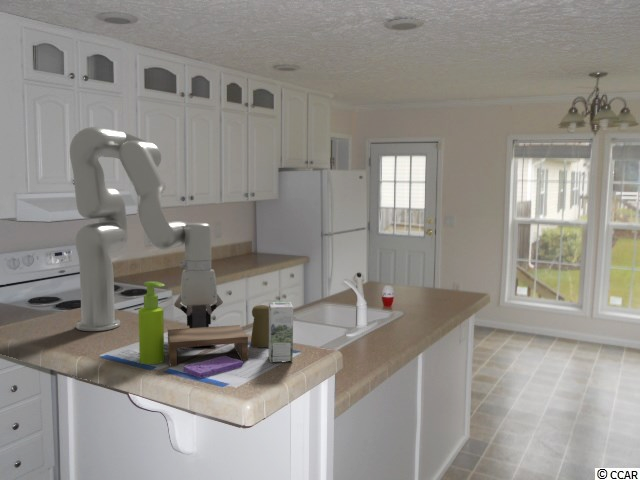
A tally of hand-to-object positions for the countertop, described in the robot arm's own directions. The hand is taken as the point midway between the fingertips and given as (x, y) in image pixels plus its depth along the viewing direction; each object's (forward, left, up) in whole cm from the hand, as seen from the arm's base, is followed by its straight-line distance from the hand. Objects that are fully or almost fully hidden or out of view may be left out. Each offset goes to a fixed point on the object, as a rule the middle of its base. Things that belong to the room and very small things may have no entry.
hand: (198, 326), depth 166 cm
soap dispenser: (+21, -13, -3) cm, 25 cm away
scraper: (+6, 0, -2) cm, 6 cm away
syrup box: (+29, +17, -3) cm, 34 cm away
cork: (+15, +15, -3) cm, 22 cm away
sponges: (+31, 0, -3) cm, 31 cm away
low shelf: (+21, 0, -2) cm, 21 cm away
